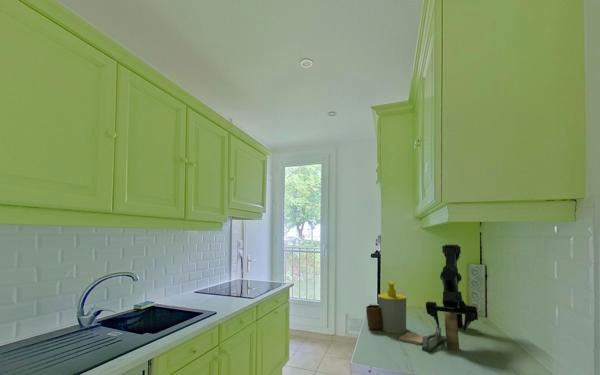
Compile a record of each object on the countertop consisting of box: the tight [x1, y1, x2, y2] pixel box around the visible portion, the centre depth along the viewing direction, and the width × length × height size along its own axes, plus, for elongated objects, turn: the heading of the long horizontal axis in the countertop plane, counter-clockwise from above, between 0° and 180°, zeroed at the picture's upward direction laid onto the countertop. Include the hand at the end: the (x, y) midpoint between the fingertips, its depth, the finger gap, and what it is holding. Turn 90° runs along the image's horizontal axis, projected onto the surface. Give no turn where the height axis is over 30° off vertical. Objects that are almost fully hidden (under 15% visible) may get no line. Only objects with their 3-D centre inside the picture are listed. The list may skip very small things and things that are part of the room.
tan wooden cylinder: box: [443, 312, 460, 352], centre depth 119 cm, size 4×4×13 cm
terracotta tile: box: [399, 332, 425, 346], centre depth 128 cm, size 9×9×1 cm
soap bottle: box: [377, 281, 407, 334], centre depth 145 cm, size 13×13×21 cm
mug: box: [365, 304, 383, 331], centre depth 147 cm, size 12×8×9 cm, turn 1°
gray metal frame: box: [421, 326, 446, 353], centre depth 123 cm, size 19×3×4 cm, turn 139°
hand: (451, 329), depth 119 cm, fingers open, 9 cm apart
